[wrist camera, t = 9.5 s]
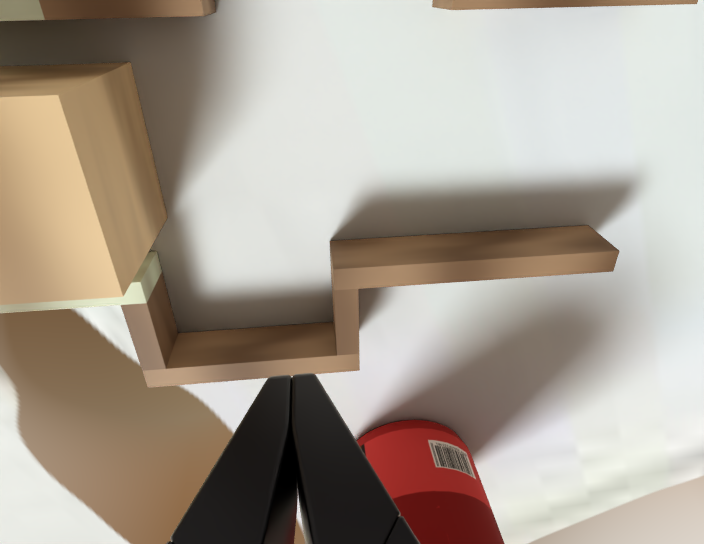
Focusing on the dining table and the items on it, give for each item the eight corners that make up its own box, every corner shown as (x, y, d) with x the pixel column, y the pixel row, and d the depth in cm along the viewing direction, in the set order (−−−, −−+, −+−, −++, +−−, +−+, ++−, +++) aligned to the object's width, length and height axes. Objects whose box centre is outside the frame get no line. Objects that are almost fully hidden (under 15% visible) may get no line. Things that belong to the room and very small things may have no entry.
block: (130, 61, 17) (58, 94, 12) (168, 216, 20) (123, 296, 15) (-49, 67, 16) (-206, 104, 11) (18, 225, 19) (-81, 310, 14)
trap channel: (702, -206, 14) (773, -240, 12) (562, 320, 25) (587, 351, 23) (-306, -217, 12) (-432, -259, 10) (1, 362, 23) (-30, 401, 21)
